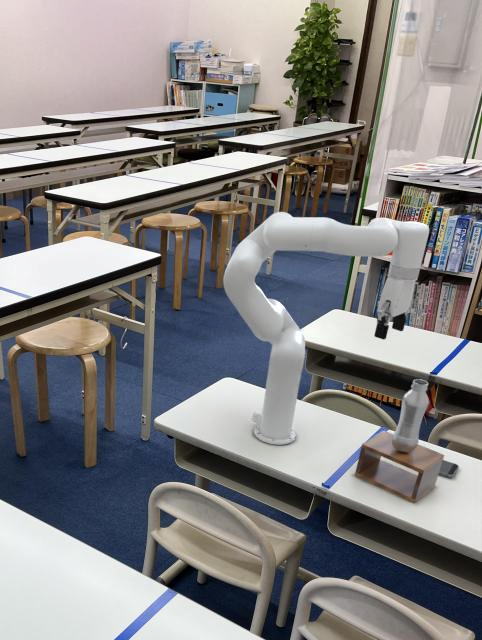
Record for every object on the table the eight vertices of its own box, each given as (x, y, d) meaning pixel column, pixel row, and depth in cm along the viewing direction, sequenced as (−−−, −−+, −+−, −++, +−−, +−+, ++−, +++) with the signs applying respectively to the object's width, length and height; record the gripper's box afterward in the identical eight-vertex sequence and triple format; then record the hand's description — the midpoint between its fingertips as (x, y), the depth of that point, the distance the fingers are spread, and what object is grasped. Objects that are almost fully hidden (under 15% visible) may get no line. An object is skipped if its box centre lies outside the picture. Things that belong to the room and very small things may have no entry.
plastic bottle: (417, 456, 185) (436, 389, 175) (391, 453, 187) (408, 385, 176) (414, 445, 191) (432, 378, 180) (388, 441, 192) (405, 375, 182)
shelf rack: (354, 475, 196) (362, 443, 190) (375, 461, 203) (383, 430, 198) (414, 503, 185) (424, 470, 180) (434, 486, 192) (444, 454, 187)
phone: (458, 467, 201) (403, 449, 209) (459, 464, 201) (404, 447, 209) (451, 478, 196) (395, 460, 204) (452, 476, 196) (396, 457, 203)
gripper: (405, 263, 189) (391, 323, 198) (374, 274, 179) (360, 337, 188) (432, 269, 185) (416, 330, 194) (401, 281, 174) (385, 345, 183)
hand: (388, 333), depth 191 cm, fingers open, 9 cm apart
